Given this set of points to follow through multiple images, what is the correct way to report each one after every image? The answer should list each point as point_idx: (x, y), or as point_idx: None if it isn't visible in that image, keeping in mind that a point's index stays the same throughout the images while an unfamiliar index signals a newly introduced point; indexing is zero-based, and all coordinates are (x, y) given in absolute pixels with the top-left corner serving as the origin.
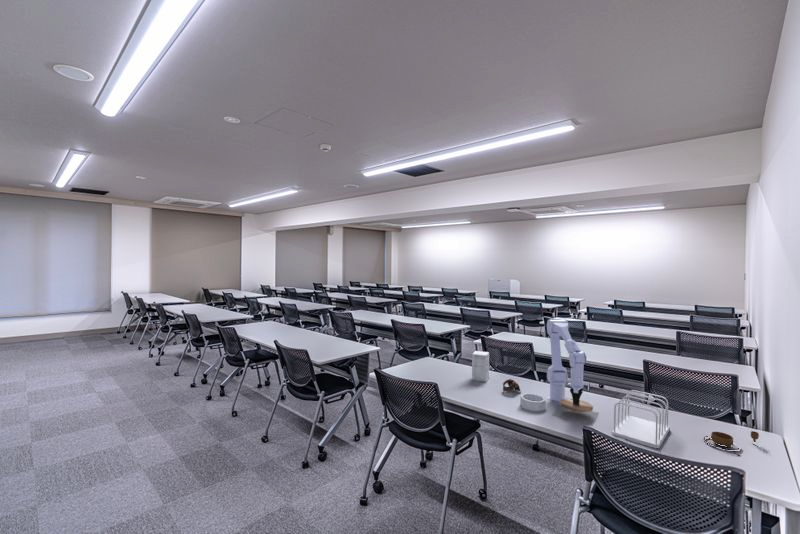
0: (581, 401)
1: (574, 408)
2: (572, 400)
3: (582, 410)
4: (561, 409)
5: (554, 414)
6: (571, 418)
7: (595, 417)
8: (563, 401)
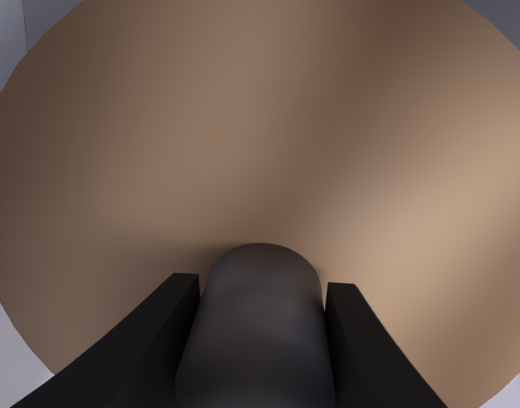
0: (462, 368)
1: (25, 265)
2: (470, 238)
3: (40, 357)
4: None
5: None
6: None
7: None
8: (313, 49)
